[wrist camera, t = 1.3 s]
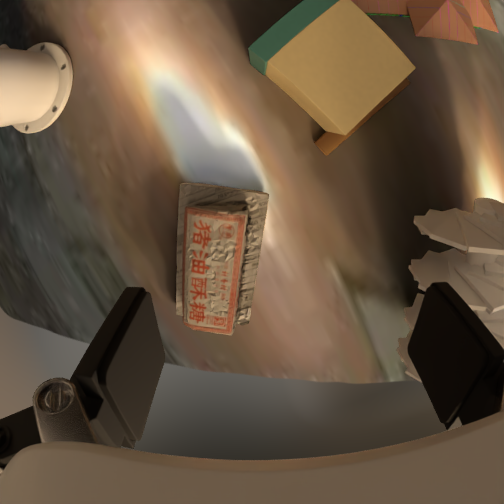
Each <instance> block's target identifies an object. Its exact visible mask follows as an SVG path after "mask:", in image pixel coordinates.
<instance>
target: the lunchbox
mask: <svg viewBox="0 0 504 504" xmlns="http://www.w3.org/2000/svg"><path fill="white" fill-rule="evenodd" d="M248 50H249V57H250V64H251V65H252V66H253V67H254V68H256V69H257V70H258V71H259V72H260V73H262V74H263V75H266V76H267V77H268V78H269V79H271V80H272V81H273V82H274V83H275V84H276V85H277V86H279V87H280V88H281V89H282V90H283V91H284V92H285V93H286V94H287V95H289V96H290V97H291V98H292V99H293V100H294V101H295V102H296V103H297V104H298V105H299V106H300V107H301V108H303V109H304V110H305V111H306V112H307V113H308V114H309V115H310V116H311V117H312V118H313V119H314V120H315V121H316V122H317V123H318V124H319V125H320V126H321V127H322V128H323V129H324V130H325V131H328V132H333V133H337V134H342V135H346V134H347V133H348V132H349V131H350V130H351V129H352V128H354V127H355V126H356V125H357V124H358V123H359V122H360V121H361V120H362V119H363V118H364V117H365V116H366V115H367V114H368V113H369V112H370V111H371V110H372V109H373V108H374V107H375V106H376V105H377V104H379V103H380V102H381V101H382V100H383V99H384V98H385V97H386V96H387V95H388V94H389V93H390V92H391V91H392V90H393V89H394V88H395V87H396V86H397V85H399V84H400V83H401V82H402V81H403V80H404V79H405V78H406V77H407V76H408V75H409V74H410V73H411V72H412V71H413V70H414V69H416V68H415V66H414V65H413V64H412V63H411V61H410V60H409V59H408V58H407V57H406V56H405V54H404V53H403V52H402V51H401V50H400V49H399V48H398V47H397V45H396V44H395V43H394V42H393V41H392V40H391V39H390V38H389V37H388V36H387V35H386V34H385V33H384V32H383V31H382V29H381V28H380V27H379V26H378V25H377V24H376V23H375V22H374V21H372V20H371V19H370V18H369V17H368V16H367V15H366V14H365V13H364V12H363V11H362V10H361V9H360V8H359V7H358V6H357V5H355V4H354V3H353V2H352V1H351V0H303V1H302V2H300V3H299V4H298V5H297V6H295V7H294V8H293V9H292V10H290V11H289V12H288V13H287V14H285V15H284V16H283V17H282V18H281V19H279V20H278V21H277V22H276V23H275V24H274V25H272V26H271V27H270V28H269V29H268V30H267V31H266V32H265V33H263V34H262V35H261V36H260V37H259V38H258V39H257V40H256V41H255V42H254V43H252V44H251V45H250V46H249V47H248Z"/></svg>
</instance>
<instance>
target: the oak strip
mask: <svg viewBox="0 0 504 504" xmlns="http://www.w3.org/2000/svg"><path fill="white" fill-rule="evenodd" d="M409 84H410V81H409V80H408V79H407V77H406V78H405V79H404V80H403V81H402V82H401V83H400V84H399V85H397V86H396V87H395V88H394V89H393V90H392V91H391V92H390V93H389V94H388V95H387V96H386V97H385V98H384V99H383V100H382V101H381V102H380V103H379V104H377V105H376V106H375V107H374V108H373V109H372V110H371V111H370V112H369V113H368V114H367V115H366V116H365V117H364V118H363V119H362V120H361V121H360V122H359V123H358V124H357V125H356V126H355V127H354V128H352V129H351V130H350V131H349V132H348V133H347V134H346V135H342V134H337V133H333V132H328V131H326V132H324V133H323V134H322V135H321V136H320V137H319V138H318V139H317V140H315V141H314V143H315V144H316V145H317V147H318V148H319V149H320V150H321V151H322V152H323V153H324V154H325V155H326V156H327V155H328V154H329V153H331V152H332V151H333V150H334V149H335V148H336V147H337V146H338V145H340V144H341V143H342V142H343V141H344V140H345V139H346V138H348V137H349V136H350V135H351V134H352V133H353V132H354V131H356V130H357V129H358V128H359V127H360V126H361V125H362V124H364V123H365V122H366V121H367V120H368V119H369V118H370V117H372V116H373V115H374V114H375V113H376V112H377V111H379V110H380V109H381V108H382V107H383V106H384V105H386V104H387V103H388V102H389V101H390V100H391V99H393V98H394V97H395V96H396V95H397V94H398V93H400V92H401V91H402V90H403V89H404V88H405V87H407V86H408V85H409Z"/></svg>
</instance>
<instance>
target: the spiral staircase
mask: <svg viewBox="0 0 504 504" xmlns="http://www.w3.org/2000/svg"><path fill="white" fill-rule="evenodd" d="M414 224H415V225H416V226H418V228H419V230H420V232H421V234H422V235H429V236H430V237H429V238H431V239H433V240H436V241H439V242H442V243H445V244H447V245H450V246H453V247H456V248H458V249H461V250H464V251H466V250H468V251H467V254H462V253H461V252H459V251H458V250H456V249H455V248H453V249H450V250H447V251H444V252H441V253H437V252H433V251H430V250H428V251H427V253H426V254H425V255H424V257H423V258H422V259H411V265H409V270H410V271H411V273H412V274H413V276H414V281H418V282H419V286H418V288H419V289H421V290H423V291H425V292H426V289H427V288H428V287H430V285H431V283H433V282H447V283H449V284H450V285H451V286H452V288H453V289H454V290H455V291H456V292H457V293H458V294H459V295H460V296H461V298H462V299H463V300H464V301H465V302H466V303H467V304H468V306H469V307H470V308H471V309H472V310H473V311H474V313H475V314H476V315H477V316H478V317H479V319H480V320H481V321H482V322H483V323H484V325H485V326H486V327H487V328H488V330H489V331H490V332H491V333H492V335H493V336H494V337H495V338H496V340H497V341H498V342H499V343H500V345H501V346H502V347H503V349H504V203H501V202H499V201H497V200H494V199H490V198H477V199H475V202H474V211H473V213H469V212H467V211H461V210H459V209H457V208H453V209H449V210H446V211H443V212H442V211H438V210H433V209H429V211H428V212H427V213H426V215H425V216H414ZM423 298H424V295H423V294H419V293H417V296H416V298H415V301H414V303H413V306H412V307H407V308H404V313H405V316H406V317H405V318H404V320H405V322H406V323H407V324H408V325H409V327H410V332H409V334H408V335H407V337H406V338H399V339H398V342H399V347H398V348H397V352H398V353H399V355H400V357H401V361H403V362H404V363H405V365H406V367H407V370H406V372H405V373H406V374H408V375H409V376H411V377H413V378H414V379H416V380H418V381H420V382H421V383H422V381H421V379H420V377H419V375H418V373H417V371H416V369H415V367H414V365H413V363H412V361H411V359H410V357H409V355H408V351H407V347H408V343H409V341H410V338H411V335H412V332H413V329H414V326H415V323H416V320H417V317H418V314H419V311H420V308H421V305H422V302H423ZM503 362H504V360H503Z"/></svg>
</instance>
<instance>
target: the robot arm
mask: <svg viewBox="0 0 504 504" xmlns="http://www.w3.org/2000/svg"><path fill="white" fill-rule="evenodd" d="M72 79H73V70H72V63H71V59H70V57H69V55H68V53H67V52H66V51H65V49H64V48H63V47H61V46H60V45H58V44H54V43H49V42H44V43H39V44H36V45H34V46H32V47H31V48H29V49H27V50H18V49H10V48H9V47H8V46H7V45H6V44H2V45H1V46H0V127H3V126H9V125H13V126H14V127H15V128H16V129H17V130H19V131H21V132H24V133H34V132H39V131H41V130H43V129H45V128H47V127H48V126H50V125H51V124H52V123H53V122H54V121H55V120H56V119H57V118H58V117H59V115H60V114H61V112H62V111H63V109H64V107H65V105H66V103H67V100H68V98H69V95H70V91H71V87H72ZM407 351H408V355H409V357H410V359H411V361H412V363H413V365H414V367H415V369H416V371H417V373H418V375H419V377H420V379H421V381H422V383H423V385H424V387H425V389H426V391H427V393H428V396H429V398H430V400H431V402H432V404H433V406H434V409H435V411H436V413H437V415H438V418H439V420H440V422H441V423H444V424H445V427H446V429H447V431H445V432H442V433H439V434H436V435H432V436H429V437H425V438H422V439H418V440H414V441H410V442H406V443H401V444H397V445H392V446H388V447H383V448H378V449H373V450H367V451H362V452H355V453H348V454H341V455H333V456H324V457H314V458H302V459H285V460H220V459H204V458H192V457H182V456H172V455H163V454H156V453H149V452H142V451H136V450H130V449H124V448H121V446H123V447H128V448H133V449H134V445H135V442H136V440H137V441H139V440H140V439H141V437H142V434H143V431H144V428H145V424H146V420H147V417H148V413H149V410H150V407H151V404H152V400H153V397H154V394H155V390H156V387H157V384H158V381H159V378H160V374H161V371H162V368H163V365H164V362H165V352H164V348H163V344H162V341H161V337H160V333H159V329H158V324H157V320H156V316H155V312H154V307H153V303H152V298H151V294H150V293H149V292H146V291H145V289H144V288H143V287H127V288H126V289H125V290H124V291H123V293H122V294H121V296H120V298H119V299H118V301H117V302H116V304H115V305H114V307H113V308H112V310H111V312H110V313H109V315H108V316H107V318H106V319H105V321H104V323H103V324H102V326H101V328H100V329H99V331H98V332H97V334H96V335H95V337H94V339H93V340H92V342H91V344H90V345H89V347H88V349H87V351H86V353H85V354H84V356H83V358H82V359H81V361H80V363H79V364H78V366H77V368H76V370H75V371H74V373H73V375H72V377H71V379H70V380H68V379H65V378H53V379H49V380H47V381H45V382H43V383H42V384H41V385H40V386H39V387H38V388H37V389H36V391H35V392H34V396H33V406H31V407H29V408H26V409H24V410H22V411H20V412H17V413H15V414H12V415H10V416H8V417H5V418H3V419H0V504H504V362H503V360H504V349H503V347H502V346H501V345H500V343H499V342H498V341H497V340H496V338H495V337H494V336H493V335H492V333H491V332H490V331H489V330H488V328H487V327H486V326H485V325H484V323H483V322H482V321H481V320H480V319H479V317H478V316H477V315H476V314H475V313H474V311H473V310H472V309H471V308H470V307H469V306H468V304H467V303H466V302H465V301H464V300H463V299H462V298H461V296H460V295H459V294H458V293H457V292H456V291H455V290H454V289H453V288H452V286H451V285H450V284H449V283H447V282H433V283H431V285H430V287H428V288H427V289H426V292H425V295H424V298H423V302H422V305H421V308H420V311H419V314H418V317H417V320H416V323H415V326H414V329H413V332H412V335H411V338H410V341H409V343H408V347H407ZM461 423H462V425H463V426H461V427H459V426H460V425H461ZM457 427H458V428H457ZM454 428H455V429H454ZM451 429H452V430H451ZM448 430H449V431H448Z"/></svg>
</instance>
